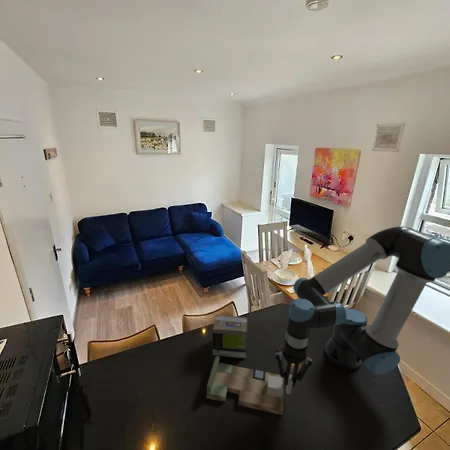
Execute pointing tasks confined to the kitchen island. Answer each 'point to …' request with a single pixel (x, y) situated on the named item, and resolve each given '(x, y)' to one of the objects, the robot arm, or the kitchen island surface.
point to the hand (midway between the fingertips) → (288, 390)
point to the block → (259, 375)
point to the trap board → (242, 387)
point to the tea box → (230, 336)
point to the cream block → (274, 386)
